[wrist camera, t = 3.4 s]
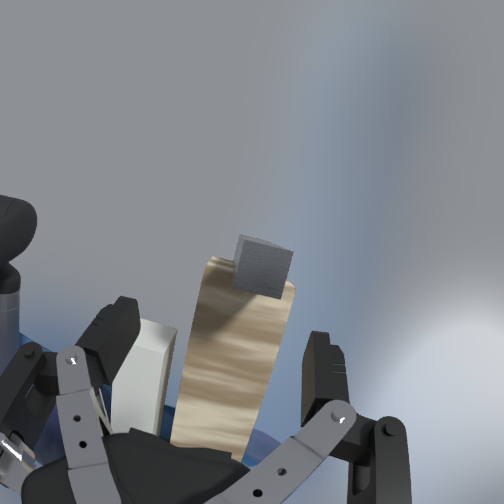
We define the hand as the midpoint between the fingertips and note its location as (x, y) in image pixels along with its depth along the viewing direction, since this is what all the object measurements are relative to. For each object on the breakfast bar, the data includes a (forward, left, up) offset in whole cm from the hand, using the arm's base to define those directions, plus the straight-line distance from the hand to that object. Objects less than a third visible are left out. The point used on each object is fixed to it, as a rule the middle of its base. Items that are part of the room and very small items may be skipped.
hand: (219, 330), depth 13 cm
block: (+5, +24, -32) cm, 41 cm away
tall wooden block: (+15, +20, -32) cm, 41 cm away
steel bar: (+13, +17, 0) cm, 22 cm away
